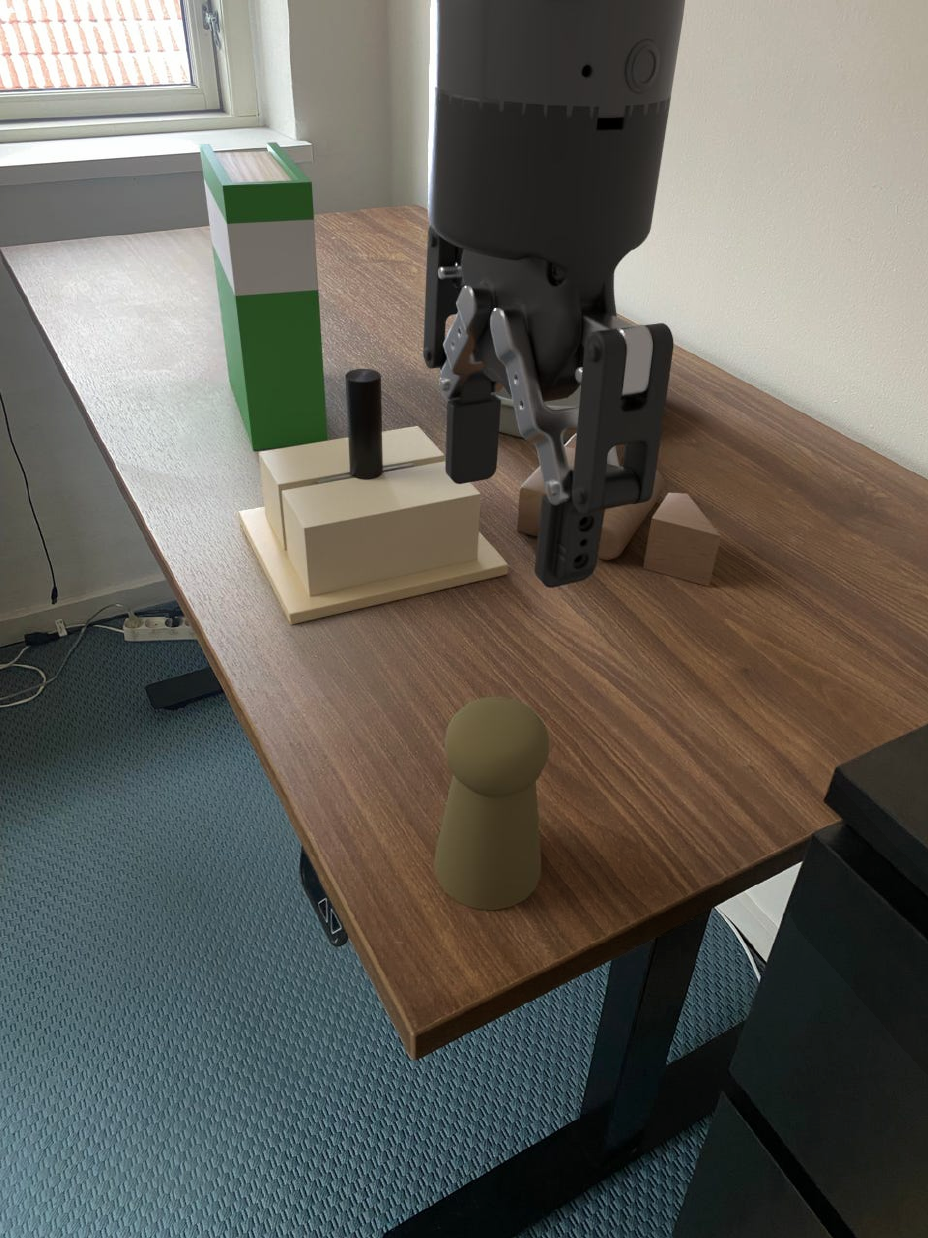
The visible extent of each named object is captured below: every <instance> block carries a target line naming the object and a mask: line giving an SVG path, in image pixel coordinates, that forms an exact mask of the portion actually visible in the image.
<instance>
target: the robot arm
mask: <svg viewBox="0 0 928 1238" xmlns="http://www.w3.org/2000/svg"><path fill="white" fill-rule="evenodd" d="M685 6H686V0H430V51H429V52H430V54H429V55H430V56H429V57H430V60H429V62H430V63H429V119H428V126H429V127H428V175H427V177H428V178H427V179H428V180H427V181H428V183H427V184H428V185H427V217H428V222H429V224H430V225H429V227H428V231H427V241H426V242H427V244H426V269H425V270H426V271H425V294H424V295H425V296H424V297H425V298H424V320H423V321H424V322H423V347H422V348H423V351H422V356H423V359H424V362H425V365H426V367H427V368H428V369H430V370H433V369H439V370H440V372H439V376H438V386H439V390H440V393H441V395H442V397H443V398H444V399H445V400H447V403H446V429H445V430H446V432H445V433H446V434H445V437H446V438H445V461H446V462H445V471H446V474H447V475H448V476H449V477H450V478H451V479H452V480H453V482H455V483H456V484H463V483H469V482H470V483H475V482H480V481H486V480H488V479H490V478H492V477H493V476H494V475H495V474H496V471H497V466H498V451H499V439H500V437H499V436H500V432H499V424H500V409H501V400H500V399H499V398H498V397H497V396H496V395H495V394H491V393H493V392H499V391H500V390H501V388H502V387H503V386H504V388H505V389H506V391H507V392H508V394H509V395H510V397H511V398H512V399H513V404H514V409H515V413H516V418H517V422H518V427H519V431H520V434H521V436H522V437H523V439H524V440H525V441H526V442H527V443H531V444H532V445H534V447H535V450H536V454H537V459H538V463H539V466H540V468H541V472H542V477H543V482H544V486H545V491H546V495H542V503H541V513H540V523H539V532H538V537H537V544H536V552H535V562H534V575H535V576H536V577H537V578H538V580H539V581H540V582H541V583H542V584H543V586H545V587H546V588H550V589H552V588H557V587H561V586H566V585H571V584H574V583H578V582H583V581H584V580H587V579H588V578H590V576H591V575H593V573H594V572H595V569H596V568H597V564H598V559H599V558H598V553H597V552H599V546H600V544H599V542H600V539H601V532H602V526H603V519H604V513H605V509H609V508H614V507H619V506H624V505H629V504H638V503H643V502H647V501H649V500H650V499H651V497H652V494H653V488H654V481H655V474H656V470H657V466H658V459H659V452H660V445H661V440H662V439H661V438H662V432H663V425H664V416H665V411H666V404H667V395H668V389H669V383H668V382H670V379H669V375H670V376H671V368H672V359H673V354H674V336H673V333H672V330H671V328H670V327H669V326H668V325H667V324H666V323H663V322H657V323H650V324H632V323H629V322H627V321H625V320H624V319H622V318H619V317H618V316H617V307H616V300H615V299H616V298H615V272H616V269H617V267H618V266H619V264H620V262H621V261H622V260H623V259H624V258H625V257H626V256H627V255H629V253H630V252H631V251H634V250H636V249H638V248H639V247H640V246H641V245H643V243H644V242H646V240H647V238H648V237H649V235H650V233H651V229H652V224H653V218H654V210H655V205H656V198H657V191H658V186H659V185H658V184H659V179H660V173H661V165H662V160H663V159H662V158H663V153H664V147H665V138H666V133H667V125H668V119H669V113H670V107H671V99H672V92H673V86H674V80H675V74H676V73H675V72H676V66H677V59H678V53H679V47H680V42H681V41H680V40H681V34H682V26H683V21H684V15H685V14H684V13H685ZM453 315H455V316H454V319H453V321H452V324H451V326H450V328H449V330H448V332H447V334H446V325H447V320H448V318H450V317H451V316H453ZM580 385H581V392H580V403H579V407H574V408H567V409H561V410H553V409H550V408H549V407H547V406H546V405H545V403H544V402H547V401H553V400H560V399H564V398H569V396H570V395H572V394H573V393H574V392H575V391H576V390H577V389H578V388H579V386H580ZM570 434H577V437H576V449H575V460H574V467H569V465H568V460H567V455H566V451H565V446H564V445H565V442H563V436H564V435H570ZM522 437H521V438H522ZM621 444H623V445H625V450H624V459H623V466H621V465H620V466H619V461H618V457H617V452H616V447H615V446H616V445H621Z"/></svg>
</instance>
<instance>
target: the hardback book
mask: <svg viewBox="0 0 928 1238" xmlns="http://www.w3.org/2000/svg"><path fill="white" fill-rule="evenodd" d="M266 148H267V150H263V151H231V152H230V151H229V152H215V151H214V149H213V148H212V146H211V144H210V143H201V144H200V143H199V152H200V160H201V167H202V168H201V169H202V175H203V183H204V191H205V199H206V208H207V215H208V223H209V224H208V225H209V231H210V238H211V239H210V240H211V245H212V246H211V247H212V248H211V249H212V254H213V264H214V270H215V278H216V286H217V294H218V301H219V311H220V318H221V327H222V335H223V342H224V349H225V351H224V352H225V357H226V366H227V373H228V381H229V385H230V387H231V390H232V394H233V397H234V399H235V402H236V405H237V407H238V411H239V413H240V417H241V419H242V422H243V425H244V428H245V430H246V434H247V437H248V440H249V443H250V446H251V449H252V451H263V450H272V449H280V448H286V447H292V446H298V445H304V444H311V443H317V442H323V441H329V439H328V425H327V424H328V423H327V409H326V408H327V407H326V406H327V405H326V390H325V373H324V358H323V343H322V342H323V341H322V326H321V311H320V310H321V309H320V293H319V277H318V263H317V262H318V261H317V244H316V230H315V229H316V227H315V211H314V196H313V195H314V194H313V182H312V180H311V179H310V178H309V177H308V176H307V175H306V174H305V173H304V171H303V170H302V169H301V168H300V167H299V165H297V163H295V161H294V160H293V159H292V158H291V156H289V154H288V153H287V152H286V151H285V150H284V149H283V148H282V146H281V145H279V143H278V142H276V141H274V142H271V141H270V142H266Z"/></svg>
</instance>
